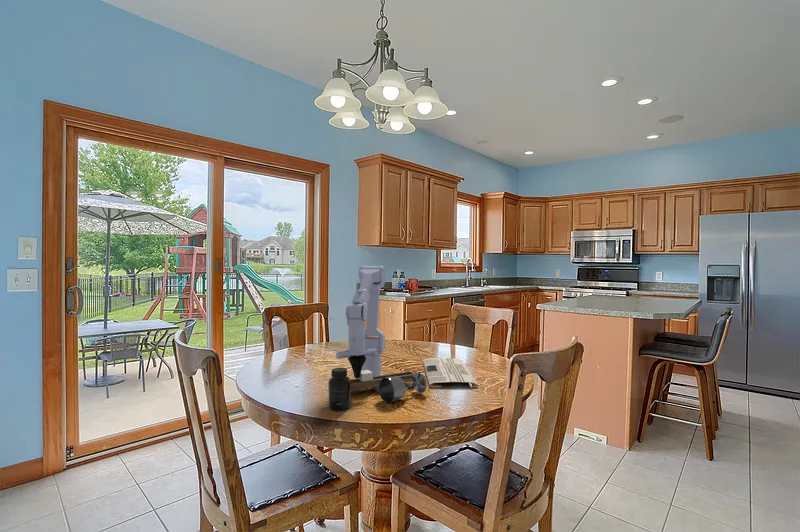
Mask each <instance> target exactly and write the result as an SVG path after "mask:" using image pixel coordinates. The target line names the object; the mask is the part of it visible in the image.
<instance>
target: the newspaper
mask: <svg viewBox="0 0 800 532" xmlns="http://www.w3.org/2000/svg"><path fill="white" fill-rule="evenodd" d="M422 364H423V367H424V373H425V375H426V376H425V377H426V381H427V382H428V383H427V385H428V386H429V387H430V388H442V387H443V386H442V384H441V383H467V382H469V383H471V384H472V386H473V387H472V388H475V387H476V386H477V388H478V387H479V384H478V383H477V381H476V379H475V378H474V376H473V375H472V373H471V372H470V370H469V368H467V365H466V363H464V362H463V360H461V359H459V358H453V357H436V358H435V357H433V358H431V357H430V358H425V359H423V360H422Z"/></svg>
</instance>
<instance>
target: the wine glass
mask: <svg viewBox="0 0 800 532" xmlns="http://www.w3.org/2000/svg"><path fill="white" fill-rule="evenodd" d="M427 382H428V381H427V377H426V376H425V375H424V374H423V373H422V372H419V371H416V372H415V374H414V376H413V379H412V382H404V381H403V380H402V379H401V378H399V377H386V378H383V379H381V381H380V383H379V392H378V394H379V396H380V399H381V400H382V401H383V402H384V403H386V404H390V403H395V402H397V401H399V400H401V399H402V398H403V397H404V396H405V395H406V392H407V390H408V388H410V387H413V389H414V390H415V392H417V393H418V394H423V393H425V391H426V390H427V386H428V383H427Z"/></svg>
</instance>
